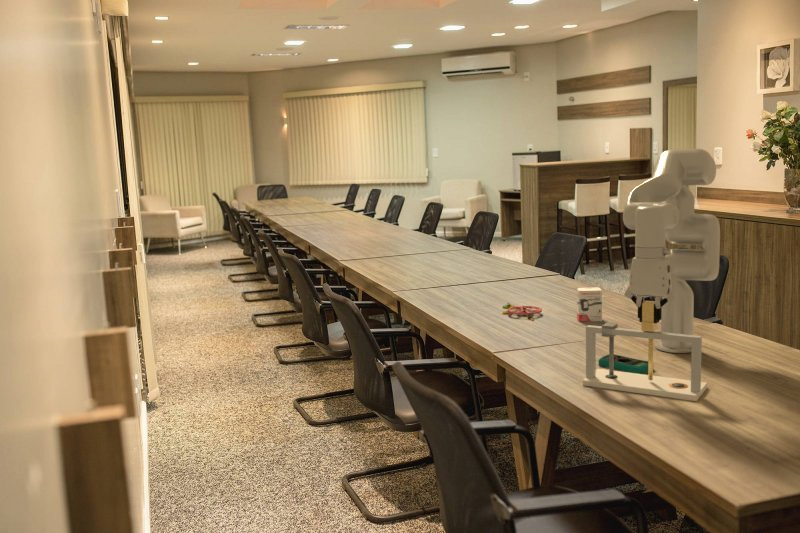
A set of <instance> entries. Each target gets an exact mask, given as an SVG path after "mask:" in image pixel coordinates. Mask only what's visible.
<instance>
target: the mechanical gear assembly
mask: <svg viewBox="0 0 800 533" xmlns="http://www.w3.org/2000/svg"><path fill="white" fill-rule="evenodd" d="M502 309H504V310H507V311H502V315H512V314H513V315H521V316H526V318H527V319H528V320H531V321H532V322H534V321H535V319H534V315H537V314H540V313H542V312H543V309H542V308H540V307H539V306H533V305H517V306H515V305H513V304H512V303H510V302H507V304H506V305H503V306H502Z"/></svg>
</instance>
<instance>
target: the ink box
mask: <svg viewBox="0 0 800 533" xmlns="http://www.w3.org/2000/svg"><path fill="white" fill-rule="evenodd" d="M576 320H577V321H578V322H579V323H580V322H581V323H582V322H583V323H584V322H603V290H602V289H601V288H600V287H597V286H596V287H578V288H576Z"/></svg>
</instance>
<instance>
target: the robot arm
mask: <svg viewBox="0 0 800 533" xmlns="http://www.w3.org/2000/svg"><path fill="white" fill-rule="evenodd" d="M654 165H655V166H654V168H653V172H652V176H651V178H649V179H648V180H645V181H644V182H643V183H641V184H639V185H638V186H636V187H635V188H634V189H632V190H631V191H630V193H629V194H628V196H627V199H626V202H625V203H624V204H625V205H624V208H623V212H622V221H623V224H624V226H625V227H626V228H627V229H629V230H632V231H634V232H635V233H634V234H635V235H634V236H635V238H634V243H635V244H634V245H635V246H634V254H635V255H634V257H632V260H631V265H630V270H629V278H628V279H629V280H628V281H629V282H628V286H627V288H626V290H625V292H624V294H623V295H624V296H625V297H627V299H630V300H631V301H632V303H634V304H635V306H636V307H637V318H638V319H639V320H638V321H639V323H642V303H643V302H644V301H645V297H651V298H652V297H654V301H655V303H656V306H655V309H654V323H656V324H657V325H658V323H660V324H661V325H660V332H665V333H675V334H685V335H694V304H695V303H694V298H695V297H694V296H695V294H694V292H693V289H692V288H691V286H690V285H689V284H688V282H687V281H700V282H702V281H703V282H708V281H709V282H711V281H714V280H716V279H717V278H718V276H719V273H720V251H721V250H720V249H721V248H720V247H721V246H720V245H721V225H720V221H719V219H718V217H717V216H715V215H713V214H709V213H695V204H696V203H695V201H696V200H695V196H694V194H693V192H692V191H691V189H690V188H689V187H688V186H709V185H711V184H712V183H713V182H714V181H715V178H716V176H717V165H716V162H715V159H714V158H713V157H712V155H711V154H710V153H709V152H708V151H707V150H705V149H702V148H675V149H668V150H665V151H663V152H662V153H660V154H659V155H658V157H657V160H656V162H655V164H654ZM666 241H667V243H669V244H672V245H681V246H682V245H684V246H687V245H688V246H701V247H702V248H703V249H694V248H693V249H690V248H671V249H670V248H667V246H666ZM691 347H692V343H688V342H679V341H669V340H659V341H657V342H656V343H655V348H656V349H657V350H659V351H663V352H666V353H672V354H689V353H691Z"/></svg>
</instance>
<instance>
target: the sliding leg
mask: <svg viewBox="0 0 800 533" xmlns="http://www.w3.org/2000/svg"><path fill="white" fill-rule="evenodd" d="M655 306H656V303H655V300H654V301H653V300H644V302H643V303H642V322H641V328H640V329H641V331H650V332H653V331H654V332H656V331H657V329H658V323H657V324H656V323H654V309H655ZM647 352H648V357H647V358H648V360H647V361H648V372H647V375H648V380H653V376H654V339H649V338H648V351H647Z"/></svg>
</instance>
